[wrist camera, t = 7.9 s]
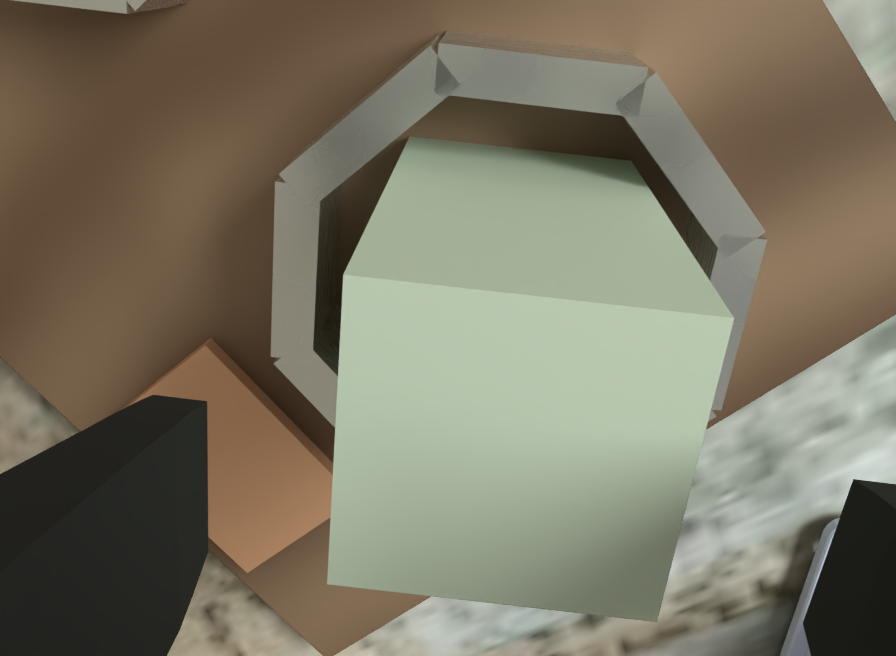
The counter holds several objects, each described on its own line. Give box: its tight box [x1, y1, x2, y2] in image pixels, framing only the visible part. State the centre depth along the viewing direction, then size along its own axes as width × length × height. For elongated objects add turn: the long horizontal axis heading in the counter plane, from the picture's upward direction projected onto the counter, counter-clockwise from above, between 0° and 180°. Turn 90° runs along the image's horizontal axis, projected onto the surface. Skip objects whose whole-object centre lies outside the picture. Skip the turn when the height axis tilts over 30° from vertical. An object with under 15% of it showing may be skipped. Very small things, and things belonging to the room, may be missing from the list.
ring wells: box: [13, 0, 767, 427], centre depth 15 cm, size 21×9×2 cm, turn 39°
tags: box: [121, 338, 333, 573], centre depth 18 cm, size 17×4×1 cm, turn 39°
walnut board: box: [0, 0, 896, 656], centre depth 17 cm, size 24×18×1 cm
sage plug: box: [327, 136, 734, 622], centre depth 14 cm, size 4×4×8 cm
